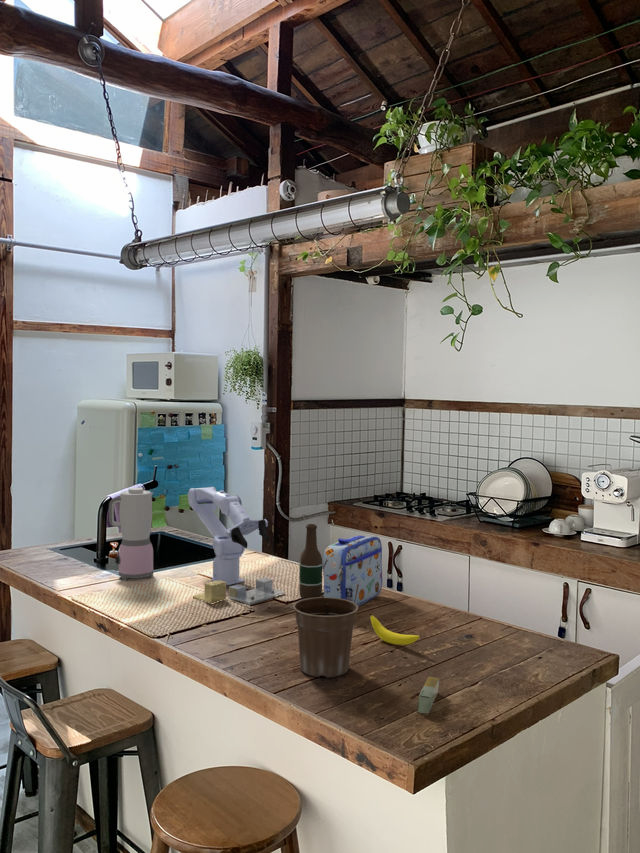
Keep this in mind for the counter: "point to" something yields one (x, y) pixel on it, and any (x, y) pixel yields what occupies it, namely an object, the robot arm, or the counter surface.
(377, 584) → the lunch box
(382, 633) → the banana
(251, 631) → the counter surface
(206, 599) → the pale gold block
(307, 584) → the beer bottle
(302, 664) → the plant pot
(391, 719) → the counter surface
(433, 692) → the medication box
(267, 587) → the fixed leaf
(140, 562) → the blender
